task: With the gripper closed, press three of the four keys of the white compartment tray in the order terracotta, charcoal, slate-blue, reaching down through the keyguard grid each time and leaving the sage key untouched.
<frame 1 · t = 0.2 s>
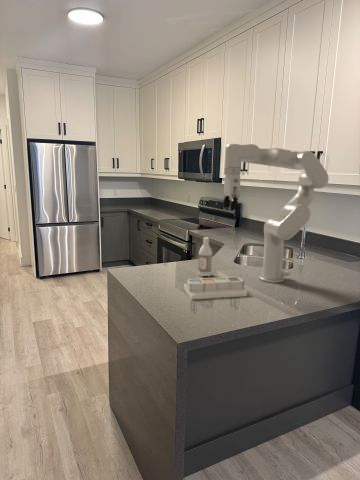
hand: (230, 208, 155), 36 cm above the countertop, tool pointing down, fingers open, 9 cm apart
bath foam: (204, 275, 172), on the countertop
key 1: (233, 281, 148), point 4 cm above the countertop, slide at 0.0 cm
white compartment tray: (214, 292, 147), on the countertop
key 3: (208, 283, 146), point 4 cm above the countertop, slide at 0.0 cm
key 2: (221, 282, 147), point 4 cm above the countertop, slide at 0.0 cm
key 4: (195, 284, 144), point 4 cm above the countertop, slide at 0.0 cm
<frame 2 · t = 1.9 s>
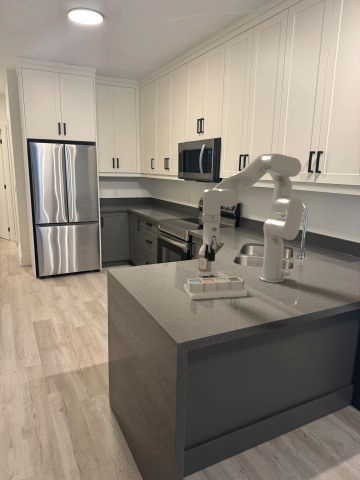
hand: (209, 259, 144), 15 cm above the countertop, tool pointing down, fingers open, 3 cm apart
nothing on the countertop moved.
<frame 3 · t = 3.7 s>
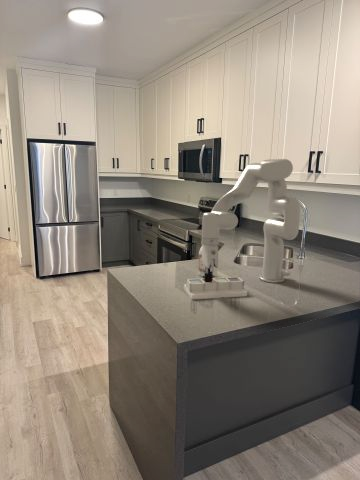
hand: (208, 281, 145), 5 cm above the countertop, tool pointing down, fingers closed
key 3: (208, 283, 146), point 4 cm above the countertop, slide at 0.0 cm, touching gripper
everything else where it was.
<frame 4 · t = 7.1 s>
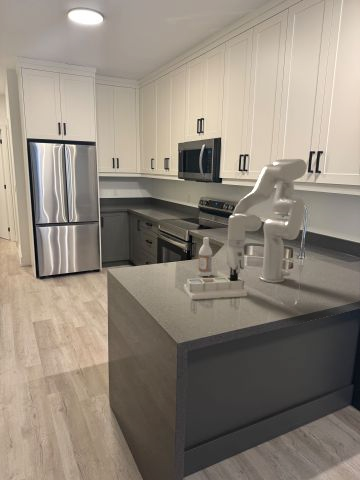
hand: (233, 282, 148), 4 cm above the countertop, tool pointing down, fingers closed
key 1: (233, 284, 148), point 3 cm above the countertop, slide at -1.2 cm, touching gripper
key 3: (208, 285, 146), point 3 cm above the countertop, slide at -1.2 cm
everything else where it was.
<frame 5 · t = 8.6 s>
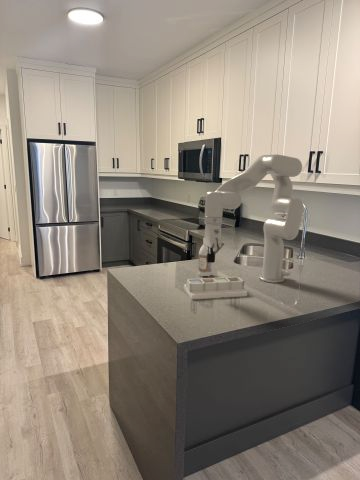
hand: (210, 262, 144), 14 cm above the countertop, tool pointing down, fingers closed
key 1: (233, 284, 148), point 3 cm above the countertop, slide at -1.2 cm
everything else where it was.
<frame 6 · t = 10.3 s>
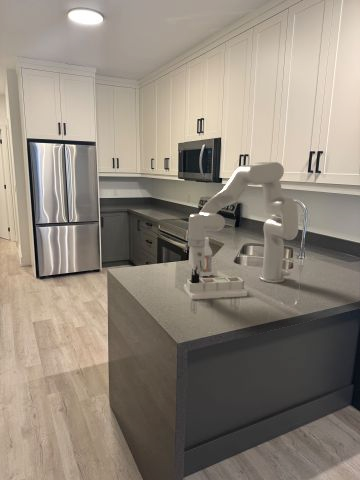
hand: (195, 283, 144), 5 cm above the countertop, tool pointing down, fingers closed
key 4: (195, 285, 144), point 4 cm above the countertop, slide at -0.6 cm, touching gripper
everything else where it was.
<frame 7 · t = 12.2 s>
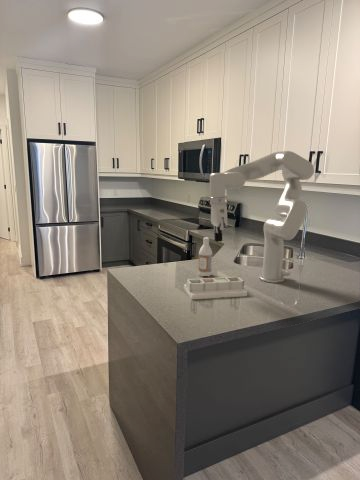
hand: (218, 240, 150), 22 cm above the countertop, tool pointing down, fingers closed
key 4: (195, 286, 145), point 3 cm above the countertop, slide at -1.2 cm
everything else where it was.
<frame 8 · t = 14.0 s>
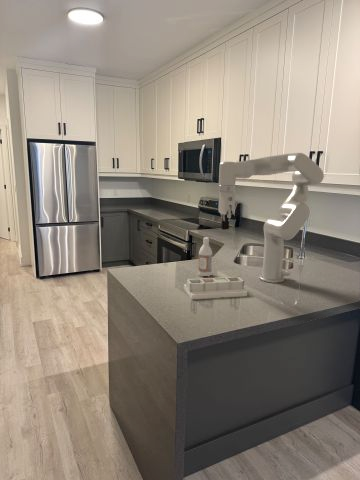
hand: (224, 229, 152), 27 cm above the countertop, tool pointing down, fingers closed
nothing on the countertop moved.
at the end: key 3 slide at -1.2 cm; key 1 slide at -1.2 cm; key 4 slide at -1.2 cm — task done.
